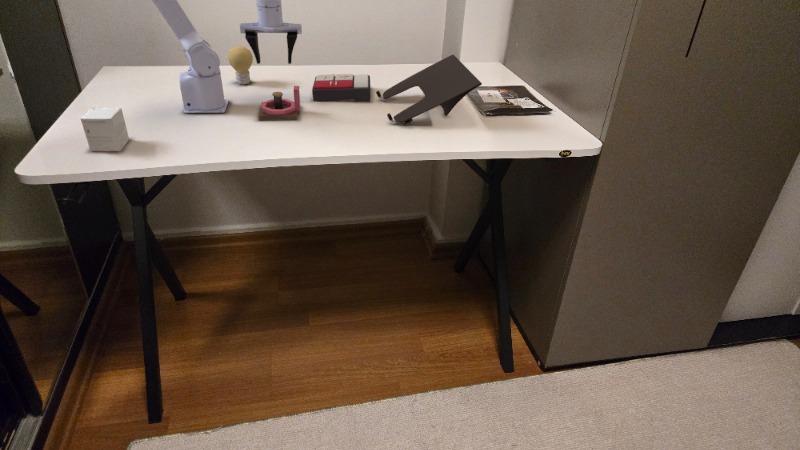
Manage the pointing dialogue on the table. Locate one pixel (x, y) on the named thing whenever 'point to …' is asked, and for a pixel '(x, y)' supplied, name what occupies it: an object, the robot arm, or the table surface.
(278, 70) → the table surface
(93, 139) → the product box
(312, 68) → the table surface
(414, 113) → the laptop tray
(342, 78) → the button keypad
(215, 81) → the robot arm
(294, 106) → the pink octagonal frame
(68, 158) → the table surface
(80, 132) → the table surface
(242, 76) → the light bulb
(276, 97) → the stand
